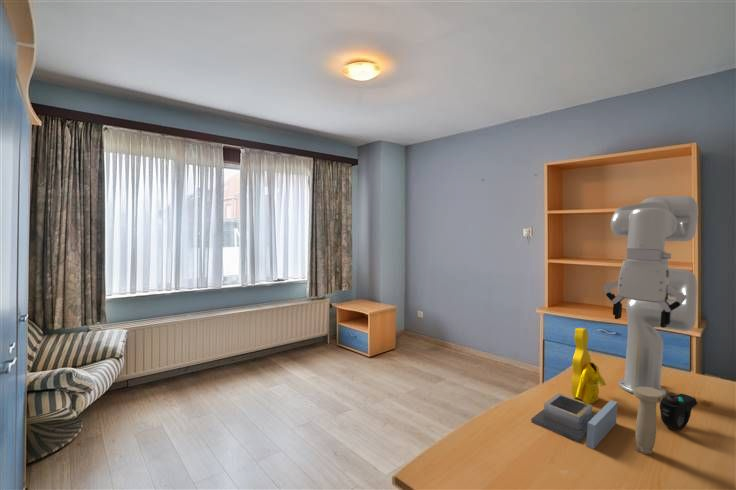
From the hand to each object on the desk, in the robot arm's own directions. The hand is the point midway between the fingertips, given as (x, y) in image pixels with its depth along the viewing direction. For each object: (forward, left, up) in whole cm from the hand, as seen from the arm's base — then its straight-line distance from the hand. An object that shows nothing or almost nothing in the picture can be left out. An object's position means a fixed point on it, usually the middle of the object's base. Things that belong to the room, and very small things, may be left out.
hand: (639, 322), depth 92 cm
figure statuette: (-12, -15, -30) cm, 36 cm away
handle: (+6, +4, -30) cm, 31 cm away
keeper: (+6, -14, -30) cm, 33 cm away
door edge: (+6, -5, -30) cm, 31 cm away
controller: (-14, +7, -30) cm, 34 cm away
